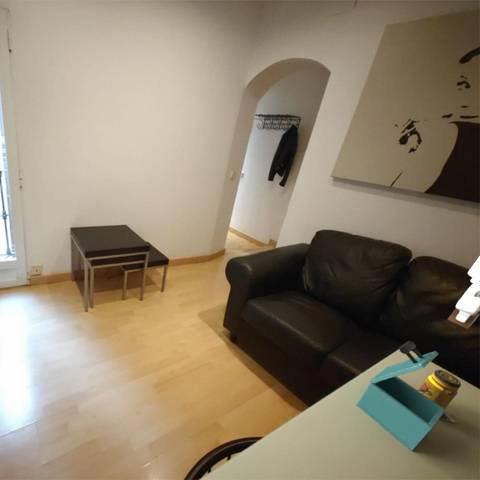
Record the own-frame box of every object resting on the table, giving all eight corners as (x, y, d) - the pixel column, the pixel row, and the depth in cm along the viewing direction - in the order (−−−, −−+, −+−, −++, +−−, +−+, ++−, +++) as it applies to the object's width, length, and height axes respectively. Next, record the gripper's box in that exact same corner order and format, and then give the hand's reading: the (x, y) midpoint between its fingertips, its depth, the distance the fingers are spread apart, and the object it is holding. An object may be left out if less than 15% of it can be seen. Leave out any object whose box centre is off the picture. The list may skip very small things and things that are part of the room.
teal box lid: (438, 354, 66) (420, 335, 69) (424, 367, 61) (405, 346, 63) (389, 370, 75) (374, 352, 78) (372, 383, 70) (358, 364, 72)
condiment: (404, 392, 80) (425, 364, 75) (433, 399, 79) (456, 370, 75) (423, 416, 73) (448, 386, 69) (455, 423, 73) (482, 393, 68)
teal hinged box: (426, 431, 69) (445, 409, 66) (411, 451, 64) (431, 428, 60) (373, 390, 79) (387, 369, 75) (356, 405, 73) (370, 383, 70)
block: (470, 325, 74) (479, 314, 72) (466, 329, 72) (476, 317, 70) (451, 316, 77) (459, 305, 75) (447, 319, 75) (455, 308, 73)
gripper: (505, 289, 60) (468, 335, 66) (520, 276, 71) (487, 317, 76) (467, 275, 65) (435, 319, 71) (486, 265, 76) (458, 304, 81)
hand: (462, 318), depth 73 cm, fingers closed on block, 4 cm apart
